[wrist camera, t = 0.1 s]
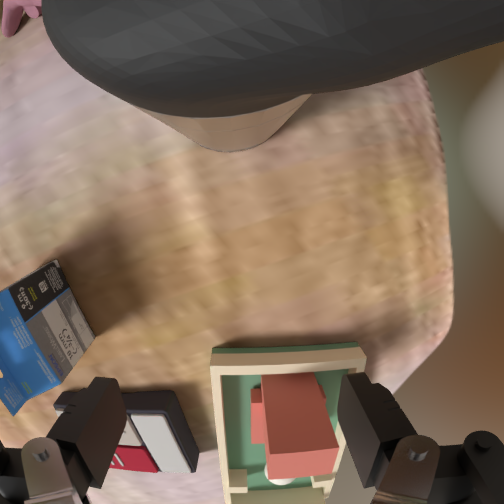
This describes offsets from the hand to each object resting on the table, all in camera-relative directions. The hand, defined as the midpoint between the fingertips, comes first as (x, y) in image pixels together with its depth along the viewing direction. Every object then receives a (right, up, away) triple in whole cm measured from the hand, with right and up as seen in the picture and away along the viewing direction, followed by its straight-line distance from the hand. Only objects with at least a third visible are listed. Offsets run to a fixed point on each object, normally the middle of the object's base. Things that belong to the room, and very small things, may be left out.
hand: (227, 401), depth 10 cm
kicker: (+4, -10, +19) cm, 22 cm away
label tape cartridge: (-18, 0, +17) cm, 25 cm away
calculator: (-14, -15, +22) cm, 30 cm away
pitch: (+4, -16, +22) cm, 28 cm away
